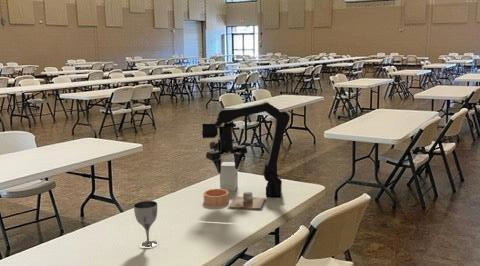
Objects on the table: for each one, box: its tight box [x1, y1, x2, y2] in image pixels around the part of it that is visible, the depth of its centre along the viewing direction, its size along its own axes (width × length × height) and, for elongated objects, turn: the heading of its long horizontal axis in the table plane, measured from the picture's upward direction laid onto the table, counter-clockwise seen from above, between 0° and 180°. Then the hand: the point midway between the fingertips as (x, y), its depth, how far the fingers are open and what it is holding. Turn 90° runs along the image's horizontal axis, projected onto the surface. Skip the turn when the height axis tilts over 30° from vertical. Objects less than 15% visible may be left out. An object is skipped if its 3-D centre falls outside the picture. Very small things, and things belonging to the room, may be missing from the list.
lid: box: [230, 191, 267, 211], centre depth 201 cm, size 13×13×5 cm
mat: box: [226, 196, 269, 212], centre depth 201 cm, size 15×15×1 cm
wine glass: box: [133, 200, 158, 247], centre depth 163 cm, size 8×8×15 cm
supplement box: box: [219, 161, 239, 192], centre depth 222 cm, size 7×7×13 cm
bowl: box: [202, 188, 230, 207], centre depth 205 cm, size 11×11×4 cm
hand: (228, 171), depth 208 cm, fingers open, 9 cm apart
